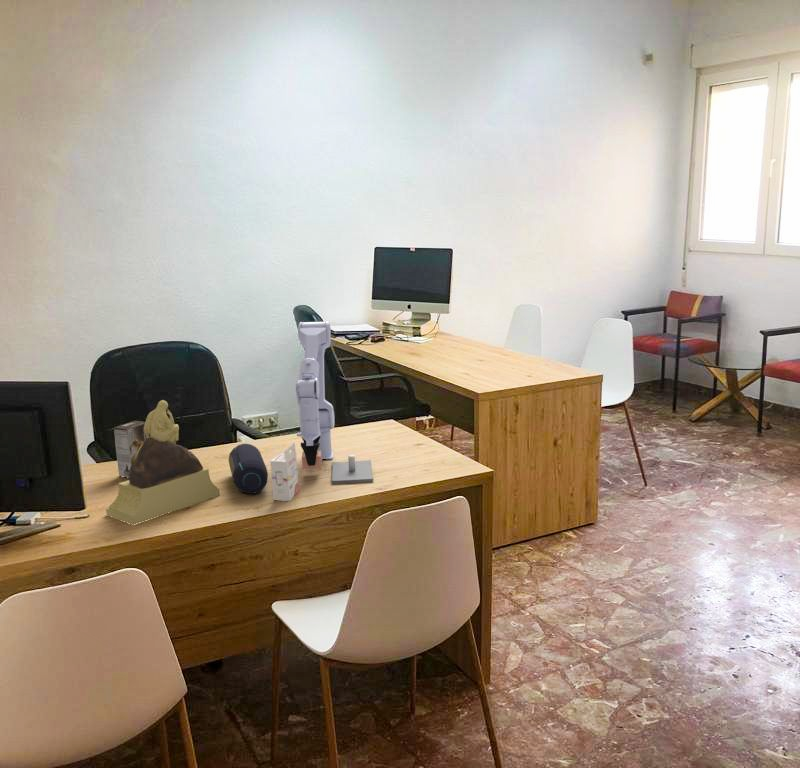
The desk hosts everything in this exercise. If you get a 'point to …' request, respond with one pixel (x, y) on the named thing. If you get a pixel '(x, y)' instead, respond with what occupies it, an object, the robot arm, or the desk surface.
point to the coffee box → (128, 444)
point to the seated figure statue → (161, 474)
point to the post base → (352, 471)
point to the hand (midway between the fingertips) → (311, 462)
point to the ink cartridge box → (285, 475)
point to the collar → (317, 464)
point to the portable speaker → (248, 468)
